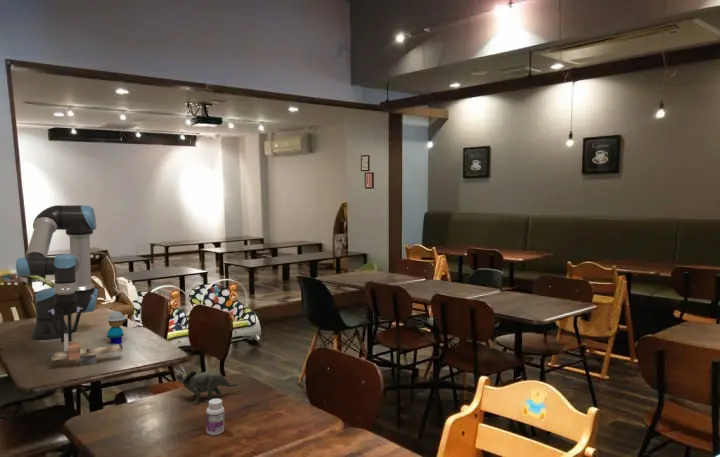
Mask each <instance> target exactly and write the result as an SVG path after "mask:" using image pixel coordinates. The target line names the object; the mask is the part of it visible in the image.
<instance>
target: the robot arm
mask: <svg viewBox="0 0 720 457" xmlns="http://www.w3.org/2000/svg"><path fill="white" fill-rule="evenodd" d="M32 228H33V232H32V234H31V238H30V241H29V244H28V247H27V251H26V254H25V256H23V257H19V258H17V259H16V263H15V270H16V274H17V275H18V276H21V277H25V276H26V277H33V276H34V277H35V276H54V287H47V288H45V289H41V290H39V291H37V292H36V293H35V301H34V302H35V324H34V326H33V329H32V333H31V334H32V335H31V337H32V339H34V340H38V341H39V340H43V341H44V340H53V339H58V338H60V343H61V344H63V352H66V351H68V343H72V335H73V333H76V332H77V330H78V327H79V326H78V325H79V322H80V318H81V315H82V314H85V313H91V312H94V311H95V310H96V307H97V301H98V300H97V299H98V292H99V289H98V288H96V287H95V284H94V283H92V279H91V278H92V274H91V273H92V272H91V270H92V269H91V240H90V239H91V238H90V237H91V235H93V234H94V231H95V230H96V229H97V219H96V215H95V210H94V208H93V207H92V206H89V205H79V204H78V205H77V204H76V205H65V204H64V205H61V204H59V205H52V206H49V207H47V208H45V209H43V210H42V211H40V213H38V214H37V215H36V217H35V218H34V220H33V223H32ZM57 230H59V231H60V230H61V231H65V235H66V236H68V237H69V254H68V253H64V254H56V255H55V256H48V255H49V249H50V246H51V241H52V239H53V234H54V233H55V232H56V231H57ZM73 314H76V316H75V319H74V320H75V321H74V324H73V328H72V315H73ZM65 316H67V323H66V321H65Z"/></svg>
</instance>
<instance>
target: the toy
mask: <svg viewBox="0 0 720 457" xmlns="http://www.w3.org/2000/svg"><path fill="white" fill-rule="evenodd" d="M105 320H106V321H107V322H108V325H109V326H110V328H109V329H108V331H107V335H106V338H109V339H110V344H114V345H119V344H122V341H123V340H122V338H123V337H124V330H123V329H122V327H124V328H128V324H129V322H128V321H129V319H128V318H127V317H126V316H124V314H123V313H122V312H121V311H118V310H116V311H113V312H111V313H110V314H109V316H108V317H107V318H106V319H105Z"/></svg>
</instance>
